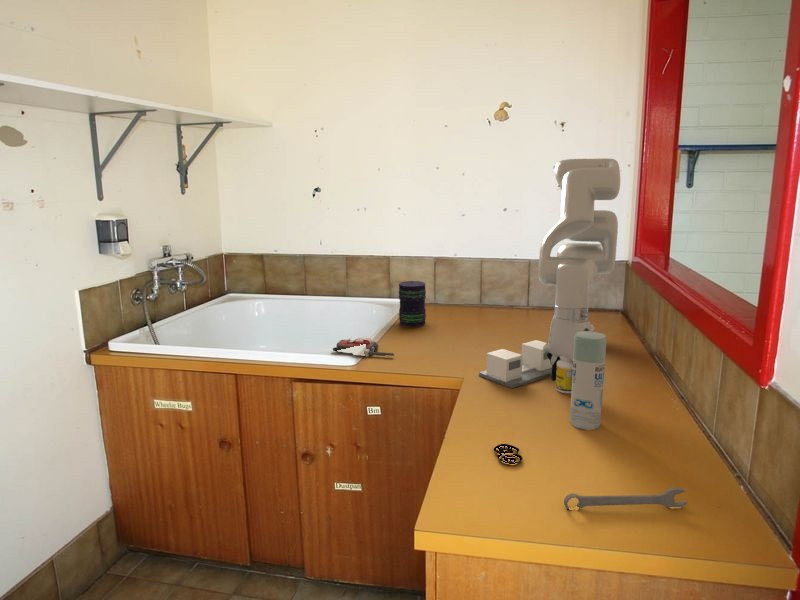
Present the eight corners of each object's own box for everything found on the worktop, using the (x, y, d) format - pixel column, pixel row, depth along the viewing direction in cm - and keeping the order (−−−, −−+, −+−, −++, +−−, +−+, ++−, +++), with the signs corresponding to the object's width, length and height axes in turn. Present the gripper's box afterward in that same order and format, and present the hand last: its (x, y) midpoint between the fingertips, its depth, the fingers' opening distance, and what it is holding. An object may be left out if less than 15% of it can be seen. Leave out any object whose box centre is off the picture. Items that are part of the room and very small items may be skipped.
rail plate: (529, 361, 165) (529, 356, 165) (562, 372, 156) (563, 366, 155) (479, 375, 154) (479, 370, 153) (512, 388, 144) (512, 383, 144)
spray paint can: (596, 432, 119) (602, 341, 115) (565, 426, 122) (570, 336, 118) (603, 421, 124) (610, 333, 120) (574, 415, 128) (578, 329, 124)
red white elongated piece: (330, 355, 173) (393, 360, 169) (329, 342, 172) (393, 346, 168) (339, 347, 182) (400, 351, 177) (339, 334, 181) (400, 337, 176)
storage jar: (426, 326, 204) (426, 286, 200) (398, 327, 204) (398, 286, 201) (425, 320, 213) (425, 280, 210) (399, 320, 214) (398, 281, 210)
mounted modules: (535, 360, 163) (536, 340, 161) (555, 366, 157) (556, 345, 156) (486, 374, 152) (486, 353, 150) (506, 382, 146) (507, 359, 145)
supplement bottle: (552, 386, 145) (553, 349, 143) (572, 385, 146) (574, 349, 144) (559, 394, 140) (561, 356, 138) (581, 393, 140) (583, 355, 138)
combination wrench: (565, 494, 91) (691, 491, 91) (563, 490, 92) (687, 486, 92) (564, 515, 92) (690, 512, 91) (562, 510, 93) (686, 507, 93)
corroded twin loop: (499, 468, 106) (499, 463, 106) (491, 448, 114) (491, 443, 113) (525, 467, 106) (526, 462, 106) (515, 447, 114) (516, 442, 114)
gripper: (610, 317, 134) (605, 389, 138) (552, 304, 147) (549, 370, 151) (591, 322, 130) (586, 397, 133) (532, 309, 143) (530, 377, 147)
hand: (566, 382), depth 142 cm, fingers open, 5 cm apart
